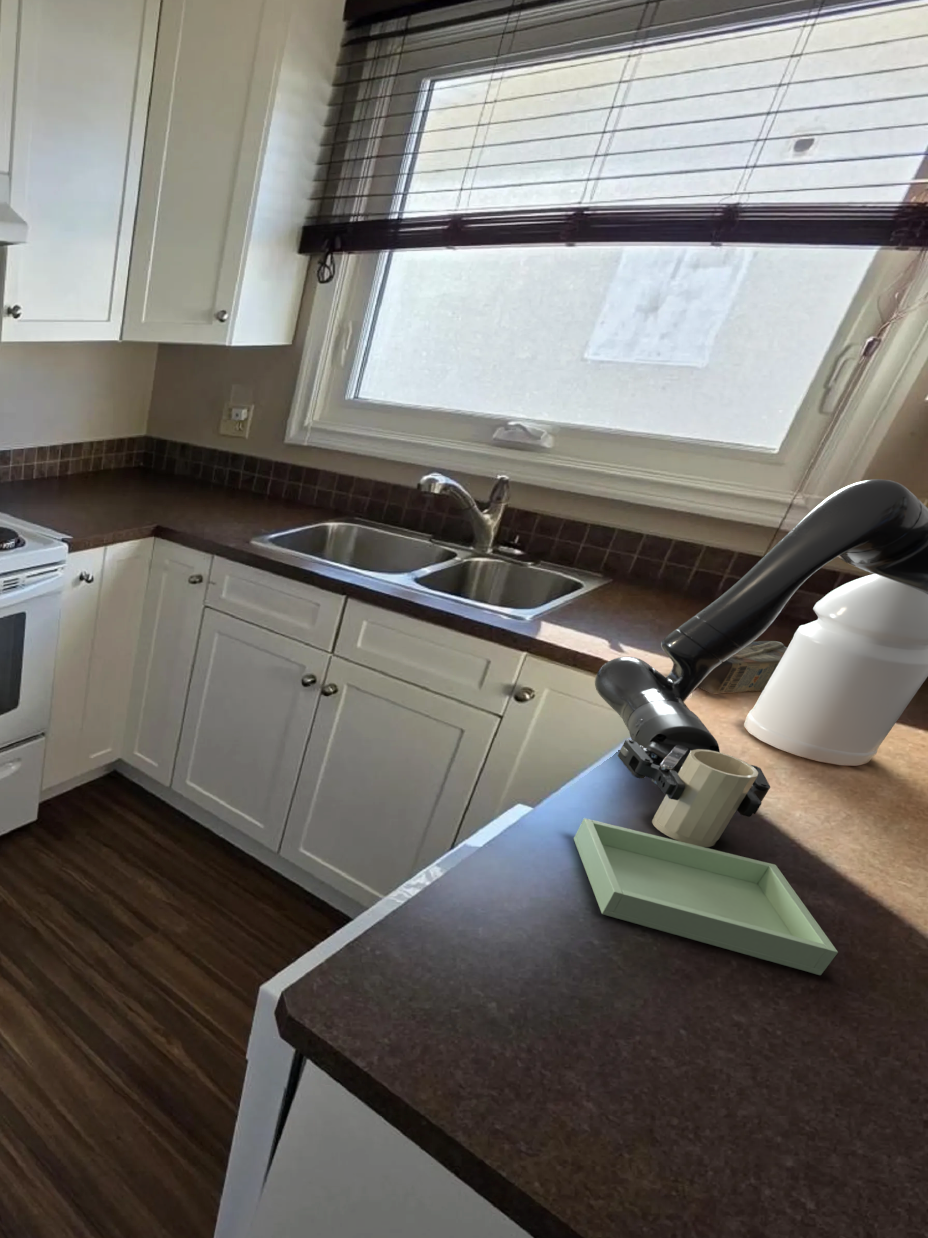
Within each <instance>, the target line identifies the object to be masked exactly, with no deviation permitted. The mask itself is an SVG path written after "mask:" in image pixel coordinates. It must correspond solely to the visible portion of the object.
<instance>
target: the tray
mask: <svg viewBox="0 0 928 1238" xmlns="http://www.w3.org/2000/svg"><path fill="white" fill-rule="evenodd" d="M573 842H574V843H575V846H576V849H577V851H578V854H579V857H580V859H581V863H582V865H583V868H584V870H585V873H586V876H587V877H588V881H589V883H590V886H591V888H592V892H593V894H594V896H595V900H596V902H597V904H598V907H599V911H600V913H601V915H604V916H606V917H611V918H614V919H618V920H622V921H625V922H628V923H632V924H636V925H639V926H642V927H647V928H650V929H654V930H658V931H659V932H660V931H661V932H663V933H668V934H671V935H675V936H678V937H682V938H686V939H689V940H693V941H696V942H699V943H703V944H708V945H710V946H714V947H718V948H722V949H725V950H729V951H732V952H735V953H739V954H742V955H747V956H749V957H753V958H757V959H760V960H764V961H768V962H772V963H775V964H778V965H782V966H786V967H789V968H793V969H796V970H800V971H802V972H803V971H804V972H808V973H811V974H814V975H817V976H822V974H823V973H824V971H826V970H827V968H828V967H829V965H830V964H831V963H832V962H833V960H834V959H835V957H836V956H837V955H838V954H839V951H838V950H837V949H836V947H835V946H834V944H833V943H832V941H831V940H830V938H829V937H828V936H827V934H826V933H825V932H824V930H823V929H822V928H821V926H820V924H819V923H818V922H817V921H816V919H815V918H814V917H813V915H812V914H811V912H810V911H809V909H808V907H807V906H806V905H805V904H804V903H803V901H802V900H801V898H800V897H799V895H798V894H797V893H796V891H795V890H794V888H793V887H792V886H791V884H790V883H789V881H788V880H787V879H786V877H785V876H784V875H783V873H782V872H781V870H780V869H779V868H778V865H777V864H774V863H770V862H766V861H761V860H757V859H753V858H749V857H744V856H742V855H741V856H740V855H738V854H733V853H729V852H725V851H721V850H717V849H713V848H710V847H701V846H697V845H693V844H688V843H684V842H680V841H677V840H675V839H673V838H668V837H663V836H660V835H656V834H651V833H647V832H643V831H640V830H634V829H630V828H627V827H623V826H619V825H615V824H612V823H611V824H610V823H606V822H602V821H598V820H594V819H589V818H586V817H584V818H583V819H582V822H580V825H579V827H578V829H577V830H576V833H575V835H574V837H573Z"/></svg>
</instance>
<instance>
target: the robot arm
mask: <svg viewBox="0 0 928 1238" xmlns="http://www.w3.org/2000/svg"><path fill="white" fill-rule="evenodd" d="M837 558H839V559H840V560H842V562H844V563H846V564H848V565H850V566H852V567H854V568H857V569H860V570H861V571H865V572H868V573H870V574H876V575H879V576H882V577H885V578H888V579H890V580H893V581H896V582H898V583H901V584H904V585H906V586H909V587H912V588H914V589H917V590H919V591H922V592H924V593H926V594H928V507H927V506H926V504H924V503H923V502H922V501H921V500H920V499H919V498H918V497H917V496H916V495H915V494H914V493H913V492H911V491H910V489H908V488H907V487H906V486H905V485H903V484H901V483H900V482H897V481H894V480H890V479H883V478H875V479H866V480H862V481H861V480H860V481H857V482H854V483H851V484H848V485H847V486H845V487H842V488H840V489H838V490H836V491H835V492H833V493H832V494H830V495H828V497H826V498H825V499H824V500H822V501H821V502H820V503H819V504H817V506H815V507H814V508H813V509H812V510H811V511H809V513H807V514H806V515H805V516H804V517H803V518H802V519H801V520H800V522H798V523H797V524H796V525H795V526H794V527H793V528H792V529H791V530H790V531H788V533H787V534H786V535H784V537H783V538H782V539H780V540H779V542H777V543H776V544H775V546H774V547H773V548H771V549H770V550H769V552H767V553H766V554H765V555H764V556H763V557H762V558H761V559H760V560H759V561H758V562H756V564H754V566H752V568H751V569H749V571H747V572H746V573H745V574H744V575H743V576H742V577H741V578H740V579H739V580H738V581H737V582H736V583H734V584H733V585H732V586H731V587H730V588H728V589H727V590H726V591H725V592H724V593H723V594H721V595H720V596H719V597H718V598H716V599H715V600H713V602H711V603H710V604H709V605H707V606H706V607H704V608H703V609H702V610H700V611H699V612H698V613H696V614H695V615H693V616H692V617H691V618H689V619H688V620H686V621H685V622H683V623H682V624H681V625H680V626H678V627H677V628H676V629H674V630H673V631H671V632H670V633H669V634H667V635H666V636H665V637H664V638H663V639H662V641H661V642H660V646H661V649H662V650H663V652H664V653H665V655H666V656H668V658H669V659H670V660H671V662H672V667H671V669H670V671H669V673H668V675H666V676H665V675H664V674H662V673H661V672H660V671H658V670H657V669H655V668H654V667H653V666H652V665H650V664H649V663H647V662H646V661H644V660H643V659H641V658H638V657H634V656H621V657H616V658H613V659H611V660H608V661H607V662H605V663H604V664H603V665H602V666H601V667H600V668H599V669H598V671H597V672H596V674H595V678H594V689H595V690H596V692H597V694H599V696H600V697H601V698H602V700H603V701H604V702H606V704H607V705H608V706H609V707H610V708H611V709H612V710H613V711H615V712H616V713H617V715H619V717H620V718H621V719H622V722H623V723H624V725H625V727H626V729H627V731H628V733H629V736H630V738H629V739H628V738H626V739H625V740H624V742H623V744H622V745H621V747H620V749H619V751H618V753H617V757H618V759H619V760H620V761H621V762H622V764H623V765H624V766H625V767H626V769H627V770H628V771H629V772H630V774H632V776H633V777H635V778H637V779H641V780H644V779H645V778H649V779H651V783H653V784H655V785H657V786H658V787H659V789H660V790H661V792H662V793H664V794H665V795H666V794H667V796H668V797H669V799H673V800H679V798H680V796H681V795H682V793H683V791H684V789H685V784H684V783H683V781H682V779H681V778H680V777H679V775H678V773H679V771H680V769H681V767H682V766H683V764H684V762H685V760H686V758H687V757H688V755H689V753H690V751H691V750H696V749H703V750H711V751H716V752H720V753H721V749H720V745H719V743H718V741H717V739H716V738H715V737H714V735H713V734H712V733H711V732H710V730H709V728H708V727H707V726H706V725H705V724H704V723H703V721H702V720H701V719H700V717H699V716H698V715H697V714H696V713H694V712H693V711H692V710H690V708H689V707H688V705H687V704H686V703H685V702H686V701H687V699H688V698H689V697H690V695H691V694H692V693H693V692H694V690H695V689H697V688H698V687H697V686H698V685H699V684H700V683H701V682H702V681H703V680H704V679H705V677H706V676H707V675H708V674H709V673H710V672H711V671H712V670H713V669H714V668H716V667H717V666H718V665H720V664H721V663H722V662H724V661H726V660H727V659H729V658H730V657H732V656H733V655H735V654H736V653H738V652H739V651H740V650H742V649H743V648H745V647H746V646H748V645H749V644H750V643H752V642H755V641H756V640H757V639H758V638H759V637H761V636H762V635H763V634H764V633H765V632H766V631H767V630H768V629H769V627H770V626H771V625H772V624H773V623H774V621H775V620H776V618H777V617H778V616H779V615H780V613H782V610H783V609H784V607H785V606H786V604H787V603H788V602H789V601H790V599H791V597H793V595H794V594H795V593H796V592H797V590H798V589H799V588H800V587H801V586H802V585H803V584H804V583H805V582H806V581H807V580H808V579H809V578H810V577H811V576H812V575H814V574H815V573H816V572H817V571H818V570H820V569H822V568H823V567H824V566H825V565H826V564H828V563H830V562H831V561H833V560H834V559H837ZM750 765H751V766H753V767H754V768H755V769H756V770H757V771H758V776H757V778H756V779H755V781H754V783H753V784H752V786H751V787H750V789H749V791H748V792H747V794H746V796H745V797H744V799H743V800H742V802H741V804H740V805H739V807H738V809H737V810H736V811H737V812H738V813H739V814H740V815H741V816H744V817H748V818H751V817H752V816H753V815H756V813H757V812H758V810H759V809H760V807H761V805H762V803H763V802H762V801H763V800H764V798H765V797H766V795H767V794H768V792H769V791H770V789H771V785H770V783H769V781H768V780H767V778H766V776H765V774H764V772H763V770H762V769H761V767H759V766H757V765H755V764H754V765H753V764H750Z"/></svg>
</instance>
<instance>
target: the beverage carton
mask: <svg viewBox="0 0 928 1238" xmlns="http://www.w3.org/2000/svg"><path fill="white" fill-rule="evenodd" d="M787 648H788V646H785V644H784V643H782V642H780V641H776V640H758V641H756V640H755V641H753V642H752V643H750V644H749V645H748V646H746V647H745V648H743V649H742V650H740V651H739V652H738V653H736V654H735V655H733V656H732V657H730V658H729V659H727V660H726V661H724V662H722V663H721V664H720V665H718V666H717V667H716V668H714V669H713V670H712V671H711V672H710V673H709V674H708V675H707V676H706V677H705V679H704V680H703V681H702V682H701V683H700V684H699V685H698V686H697V687H696V688H698V689H701V690H703V691H706V692H708V693H710V694H711V695H717V694H718V695H719V694H730V693H732V694H733V693H743V692H745V693H746V692H758V691H760V692H761V691H763V690H764V688H765V686H766V685H767V683H768V681H769V679H770V678H771V676H772V674H773V672H774V671H775V669H776V667H777V666H778V664H779V662H780V660H781V659H782V657H783V655H784V653H785V652H786V650H787Z"/></svg>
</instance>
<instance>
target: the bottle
mask: <svg viewBox="0 0 928 1238" xmlns="http://www.w3.org/2000/svg"><path fill="white" fill-rule="evenodd" d="M812 610H813V612H814V613H815V614H816V616H817V619H816V620H813V621H810V622H808V623H805V624H801V625H799V626H798V628H797V629H796V630H795V632H794V634H793V636H792V638H791V641H790V643H789V644H788V646H787V650H786V652H785V653H784V655H783V657H782V659H781V660H780V662H779V664H778V666H777V667H776V669H775V671H774V672H773V674H772V676H771V678H770V679H769V681H768V683H767V685H766V686H765V688H764V690H762V691H761V693H760V695H759V697H758V699H757V701H756V702H755V704H754V706H753V708H752V709H750V710H749V711H748V713H747V715H746V717H745V720H744V723H743V727H744V728H745V729H746V732H748V733H749V734H750V735H752V736H753V737H755V738H756V739H758V740H759V741H761V742H763V743H765V744H767V745H770V746H771V747H773V748H776V749H777V750H778V749H779V750H781V751H783V752H787V753H789V754H792V755H795V756H797V757H800V758H801V757H802V758H803V759H804V758H805V759H807V760H812V761H816V762H819V763H824V764H825V763H826V764H831V765H837V766H854V767H855V766H856V767H858V766H861V765H865V764H867V763H869V762H870V761H871V760H872V759H873V758H874V757H875V756H876V755H877V753H878V749H879V748H880V746H881V745H882V743H883V742H884V740H885V739H886V737H887V736H888V735H889V733H890V731H891V730H892V729H893V728H894V726H895V725H896V723H897V722H898V720H899V719H900V717H901V716H902V714H903V713H904V711H905V710H906V708H907V707H908V706H909V704H910V703H911V701H912V700H913V698H914V697H915V696H916V694H917V693H918V691H919V689H920V688H921V686H922V685H923V683H924V682H925V681H926V680H927V678H928V594H926V593H924V592H922V591H919V590H917V589H914V588H912V587H909V586H906V585H904V584H901V583H898V582H896V581H893V580H890V579H888V578H885V577H882V576H879V575H876V574H873V573H871V574H869V575H865V576H862V577H859V578H856V579H853V580H851V581H848V582H846V583H844V584H842V585H840V586H838V587H836V588H835V589H833V590H831V591H830V592H828V593H827V594H825V596H823V597H822V598H821V599H820V600H818V601H817V602H815V604H814V606H813V608H812Z"/></svg>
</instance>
